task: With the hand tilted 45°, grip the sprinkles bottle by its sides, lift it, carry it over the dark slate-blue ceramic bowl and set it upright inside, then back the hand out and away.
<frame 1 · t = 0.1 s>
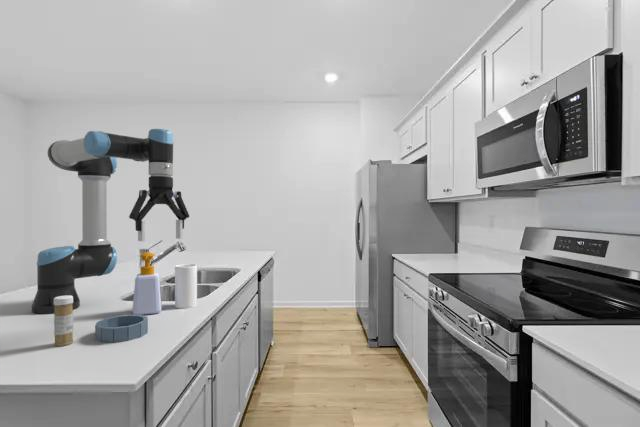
hand: (161, 239, 126), 28 cm above the worktop, tool pointing down, fingers open, 13 cm apart
soap bottle: (147, 313, 138), on the worktop
bowl: (122, 334, 115), on the worktop
cup: (186, 306, 149), on the worktop
sprinkles bottle: (63, 344, 107), on the worktop
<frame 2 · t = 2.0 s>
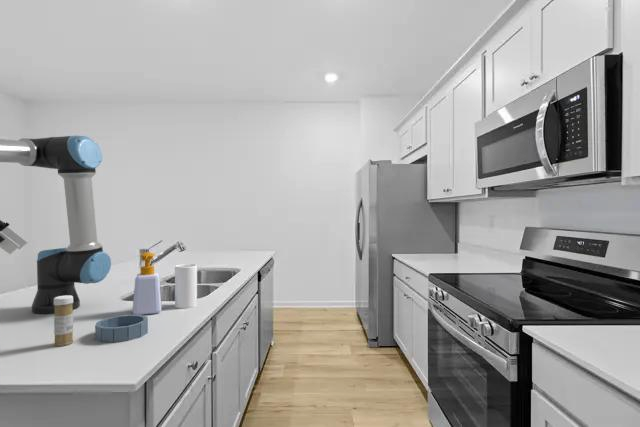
hand: (19, 248, 102), 28 cm above the worktop, tool tilted 45°, fingers open, 13 cm apart
nothing on the worktop moved.
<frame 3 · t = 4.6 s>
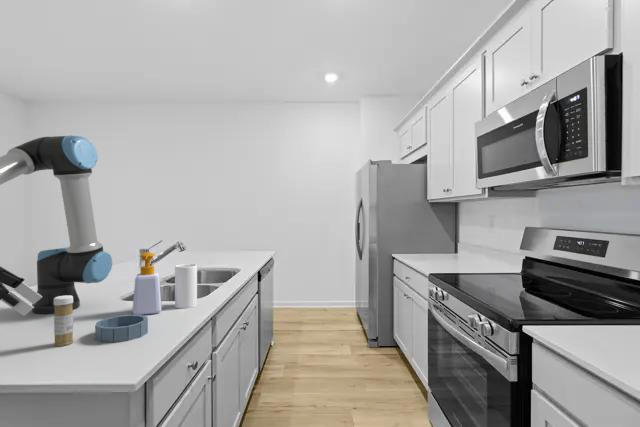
hand: (34, 305, 103), 12 cm above the worktop, tool tilted 45°, fingers open, 13 cm apart
nothing on the worktop moved.
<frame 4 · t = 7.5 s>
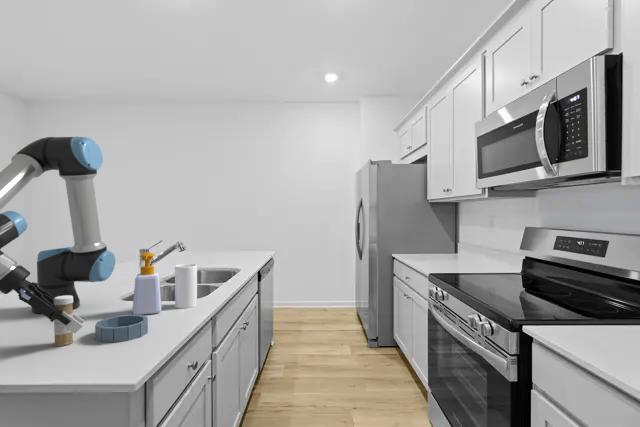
hand: (79, 327, 109), 4 cm above the worktop, tool tilted 45°, fingers closed on sprinkles bottle, 4 cm apart
sprinkles bottle: (63, 344, 107), on the worktop, touching gripper
everything else where it was.
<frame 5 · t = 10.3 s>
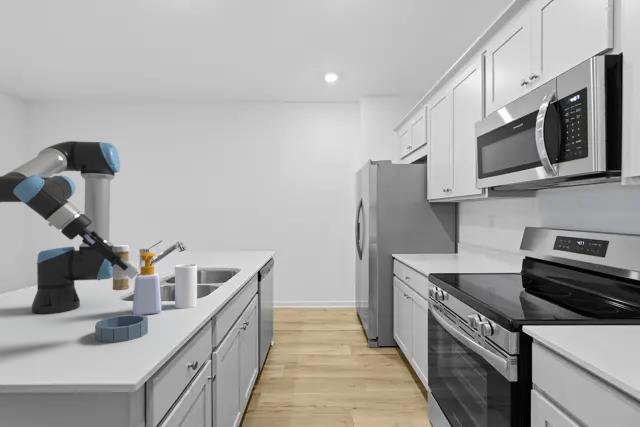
hand: (134, 274, 117), 18 cm above the worktop, tool tilted 45°, fingers closed on sprinkles bottle, 4 cm apart
sprinkles bottle: (120, 289, 115), point 14 cm above the worktop, touching gripper
everything else where it was.
when the fingers open (7 cm above the worktop, at t = 13.3 s): sprinkles bottle drops 1 cm, resting on bowl.
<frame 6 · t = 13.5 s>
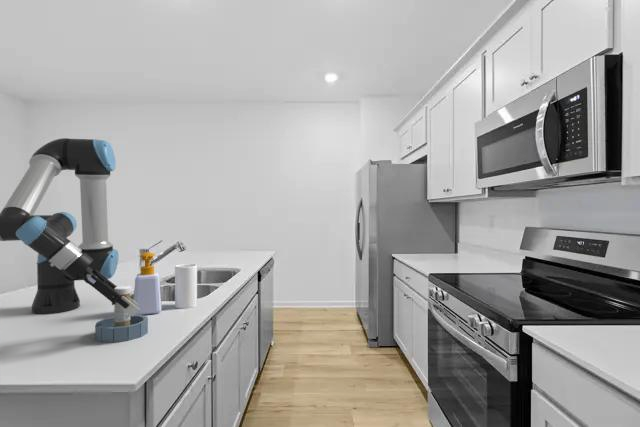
hand: (135, 310, 117), 7 cm above the worktop, tool tilted 45°, fingers open, 7 cm apart
sprinkles bottle: (122, 331, 115), point 1 cm above the worktop, touching bowl
everything else where it was.
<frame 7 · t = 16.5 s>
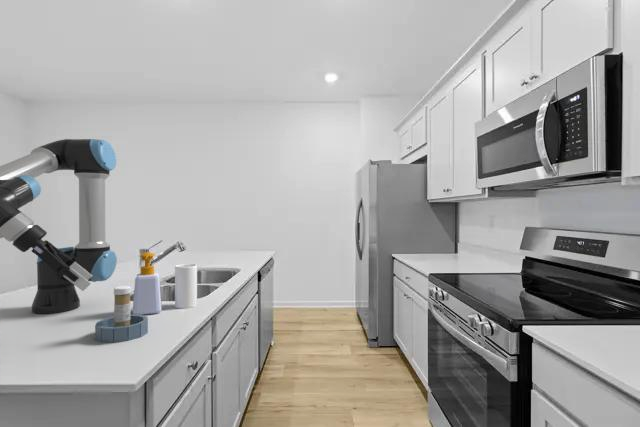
hand: (88, 283, 111), 17 cm above the worktop, tool tilted 45°, fingers open, 13 cm apart
nothing on the worktop moved.
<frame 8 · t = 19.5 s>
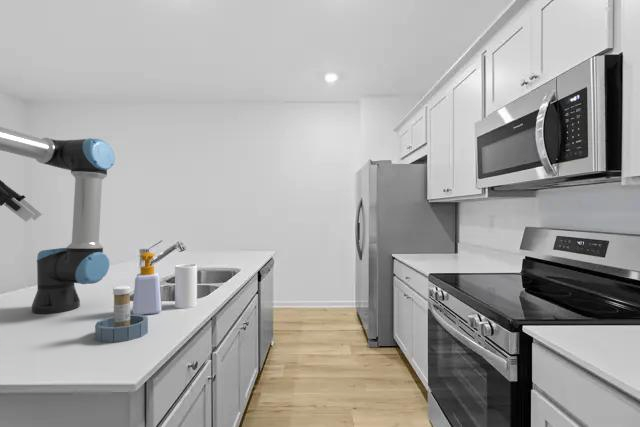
hand: (34, 217, 109), 36 cm above the worktop, tool tilted 45°, fingers open, 13 cm apart
nothing on the worktop moved.
at the end: sprinkles bottle inside the target area on the bowl (0.1 cm from its centre), point 0.8 cm above the bowl's base; sprinkles bottle tilted 0°; the gripper is holding nothing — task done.
